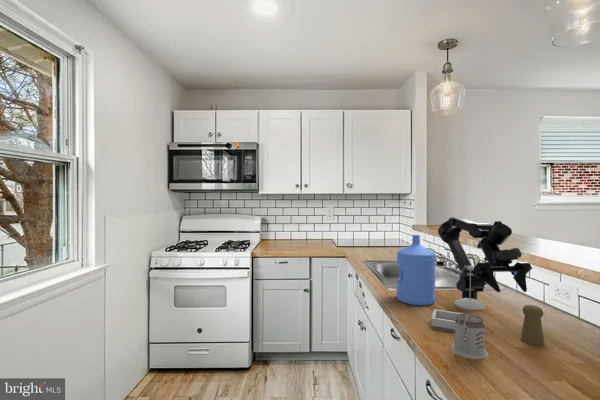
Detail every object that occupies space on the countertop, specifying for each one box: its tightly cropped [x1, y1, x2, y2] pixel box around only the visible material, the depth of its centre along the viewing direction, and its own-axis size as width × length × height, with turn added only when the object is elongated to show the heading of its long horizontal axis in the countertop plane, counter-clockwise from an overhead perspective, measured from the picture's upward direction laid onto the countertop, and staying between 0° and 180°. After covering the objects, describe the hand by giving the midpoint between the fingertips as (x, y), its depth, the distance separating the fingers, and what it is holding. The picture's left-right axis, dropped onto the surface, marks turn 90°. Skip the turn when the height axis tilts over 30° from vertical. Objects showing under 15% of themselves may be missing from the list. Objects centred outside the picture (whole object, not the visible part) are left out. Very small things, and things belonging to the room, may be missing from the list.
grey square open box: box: [430, 308, 464, 334], centre depth 114 cm, size 10×10×4 cm
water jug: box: [396, 234, 436, 306], centre depth 141 cm, size 16×16×28 cm
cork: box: [520, 304, 545, 347], centre depth 102 cm, size 6×6×11 cm
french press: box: [450, 265, 489, 360], centre depth 95 cm, size 10×12×25 cm
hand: (512, 291), depth 110 cm, fingers open, 9 cm apart
